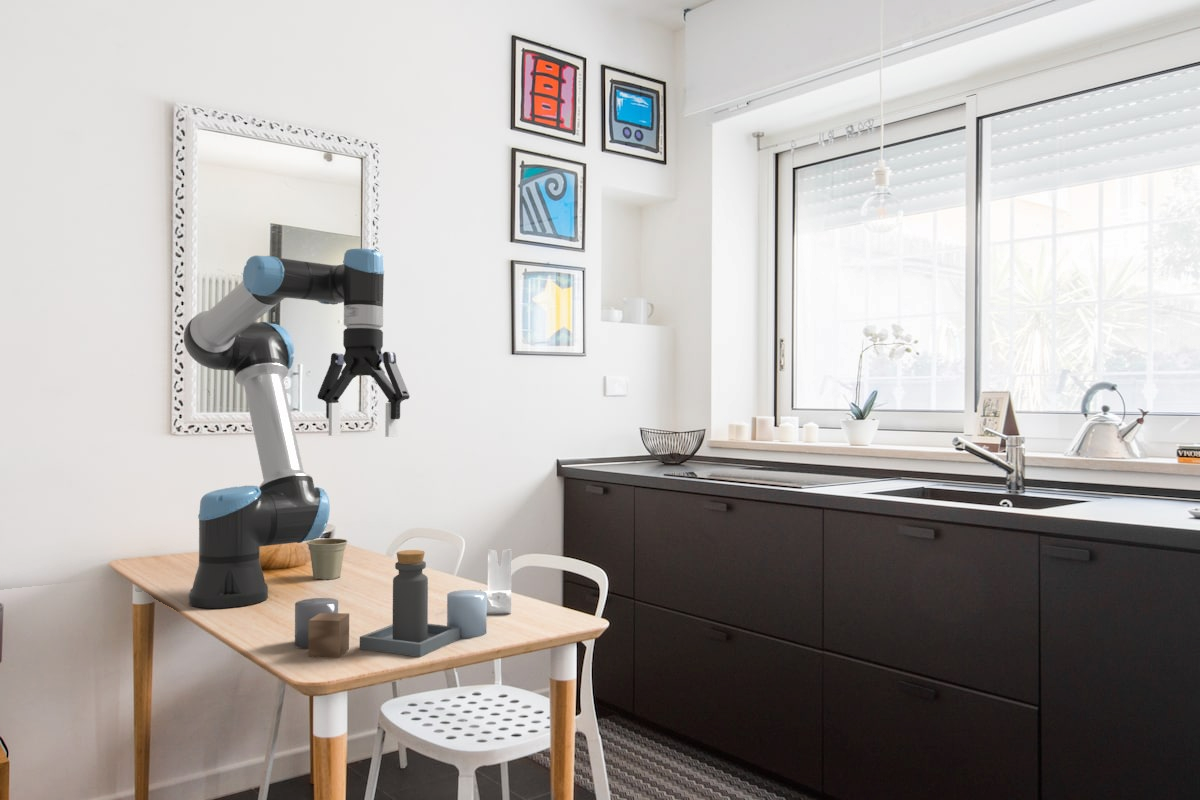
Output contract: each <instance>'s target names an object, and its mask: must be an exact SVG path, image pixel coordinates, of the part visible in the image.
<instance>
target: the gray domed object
mask: <svg viewBox="0 0 1200 800" xmlns="http://www.w3.org/2000/svg"><path fill="white" fill-rule="evenodd" d="M319 613H339V600H338V599H336V598H330V597H315V598H312V597H311V598H307V599H306V598H305V599H301V600H298V601H296V602H295V603H294V647H296V648H297V649H301V650H302V649H304V650H308V639H309V620H310V619H312V618H313V617H315V616H316V615H318V614H319Z"/></svg>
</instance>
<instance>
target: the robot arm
mask: <svg viewBox="0 0 1200 800" xmlns="http://www.w3.org/2000/svg"><path fill="white" fill-rule="evenodd" d="M343 254H344V256H343V261H342V263H343V264H337V265H335V264H334V265H333V264H327V263H326V264H325V263H319V262H310V261H304V260H303V261H302V260H298V259H297V260H296V259H289V258H283V257H278V256H273V255H253V256H250V257H249V258H248V259H247V261H246V263H245V265H244V268H243V273H242V281H241V282H240V283H239V284H238V285H237V286H236V287H234V288H233V289H232V290H231V291H230V292H229V293H228V294H227V295H225V296H224V297H223V298H222V299H220V301H218V302H217V303H216V304H215V305H214V306H212V308H210V309H209V310H205V311H201V312H199V313H198V314H195V316H194V317H193V318H191V319H190V320H189V322H187V325H186V327H185V328H184V332H183V343H184V347H185V349H186V351H187V353H188V354H189V356H190V358H192V359H193V360H194V361H195V362H197V364H200V365H201V366H203V367H205V368H208V369H211V370H218V371H231V372H232V371H233V373H234V378H235V382H236V383H237V384H239V385H240V386H243V387H244V391H245V397H246V401H247V406H248V411H249V416H250V419H251V420H250V421H251V426H252V430H253V435H254V439H255V444H256V449H257V454H258V458H259V459H258V460H259V465H260V468H261V474H262V479H263V481H262V483H261V484H260V485H259V486H258V485H242V486H232V487H231V486H230V487H226V488H221V489H216V490H213V491H209V492H208V493H206V494H204V495H203V496H202V497H201V498H200V502H199V514H198V515H197V516H198V517H197V519H198V568H197V569H196V572H195V573H196V574H195V577H194V580H193V584H192V588H191V589H190V591H189V595H188V604H189V605H190V606H193V607H197V608H203V609H204V608H205V609H222V608H223V609H224V608H235V607H243V606H250V605H254V604H258V603H261V602H263V601H266V600H267V599H268V598H269V585H268V584H267V583H266V581H265V576H264V572H263V568H262V566H261V560H260V549H261V548H260V547H267V546H268V547H269V546H276V545H285V544H286V545H287V544H293V543H294V544H295V543H297V544H302V543H304V542H307V541H310V540H316V539H318V538H319V537H321V536H322V534H323V533H324V532H325V530H326V528H327V525H328V522H329V518H330V499H329V495H328V493H327V492H326V491H325V489H323V488H321V487H315V483H314V479H313V476H311V475H310V474H308V473H306V472H305V471H304V468H303V463H302V458H301V455H300V449H299V445H298V440H297V435H296V431H295V427H294V423H293V418H292V412H291V409H290V405H289V400H288V395H287V391H286V387H285V382H284V380H285V378H286V377H287V376H288V375H289V370H290V369H291V368H292V365H293V363H294V353H295V348H294V343H293V340H292V338H291V335H290V333H289V332H288V331H287V329H286V328H285V327H283V325H282V326H281V325H280V324H276V323H269V322H267V321H260V322H256V321H258V320H259V319H260V318H261V317H263V316H264V315H265V314H266V313H267V312H269V311H270V310H271V309H273V308H274V307H275V306H276V305H278V304H279V303H280V302H282V301H283V300H284V299H295V300H307V301H317V302H318V303H320V304H323V305H333V306H334V305H338V304H342V303H343V325H344V327H346V328H345V329H344V330H343V331H342V332H343V338H342V341H343V343H342V344H343V345H342V346H343V347H344V349H345V351H344V354H343V353H335V352H333V353H331V355H330V364H329V366H328V369H327V371H326V375H325V376H324V378H323V381H322V384H321V386H320V389H319V391H318V394H317V400H321V401H323V402H325V404H326V405H325V408H326V409H325V411H326V412H325V413H326V414H325V415H326V416H325V417H326V419H327V420H328V436H332V437H333V436H341V435H342V433H341V432H342V431H341V430H342V429H341V427H342V423H341V422H342V419H341V418H342V417H341V415H342V412H341V409H342V404H341V403H342V402H340V401H339V399H340V398H341V396H342V395H343V394H344V392H345V391H346V389H347V388H348V386H349V385H350V383H351V382H352V381H353V379H354V378H356V377H357V376H359V377H361V376H368V377H369V376H370V377H371V378H373V380H374V381H375V382H376V384H377V385H378V387H379V388H380V390H381V391H382V392H383V394H384V395H385V397H386V398H387V402H385V421H384V422H385V438H387V437H388V438H390V437H397V436H398V420H400V419H401V403H402V402H403V401H404V400H405V401H406V400H409V399H410V393H409V391H408V389H407V386H406V384H405V381H404V378H403V377H402V374H401V372H400V369H399V367H398V364H397V355H396V353H395V352H393V351H384V352H382V348H383V346H384V340H383V339H384V338H383V337H384V332H383V330H382V329H381V328H383V326H384V306H383V305H384V281H385V279H384V275H385V270H384V259H383V257H384V256H383V254H382V253H381V252H380V251H378V250H375V249H369V248H349V249H347V250H345V252H344V253H343ZM381 363H383V365H384V369H385V370H386V372H385V370H384V369H383V368H382V366H381ZM344 364H345V365H344ZM386 373H387V375H388V377H387V376H386Z"/></svg>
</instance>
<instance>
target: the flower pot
mask: <svg viewBox="0 0 1200 800" xmlns="http://www.w3.org/2000/svg"><path fill="white" fill-rule="evenodd" d="M348 543H349V540H348V539H343V538H319V539H318V538H316V539H314V540H309V541H306V545H308V550H309V553H310V554H309V555H310V562H311V569H312V577H313V579H315V580H320V579H321V580H323V581H324V580H326V579H329V580H335V579H338V578H340V577H341V575H342V567H343V561H344V557H345V556H344V555H345V549H346V548H347V544H348ZM326 581H327V580H326Z"/></svg>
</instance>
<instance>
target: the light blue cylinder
mask: <svg viewBox="0 0 1200 800" xmlns="http://www.w3.org/2000/svg"><path fill="white" fill-rule="evenodd" d="M484 591H485V590H481V591H480V589H479V590H476V589H460V590H455V591H450V592H448V593H447V595H446V626H453V627H460V639H472V638H478V637H482V636H485V635H486V634H487V630H488V629H487V621H488V619H487V615H488V614H487V593H486V592H484Z"/></svg>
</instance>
